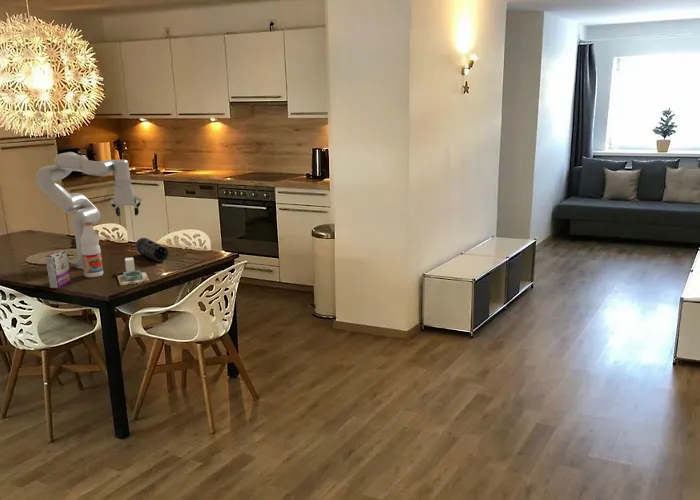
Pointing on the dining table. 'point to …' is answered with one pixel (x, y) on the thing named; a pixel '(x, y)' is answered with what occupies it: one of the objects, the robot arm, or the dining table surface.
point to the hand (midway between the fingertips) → (127, 215)
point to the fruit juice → (91, 252)
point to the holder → (132, 277)
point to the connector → (129, 264)
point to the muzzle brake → (152, 249)
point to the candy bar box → (58, 269)
